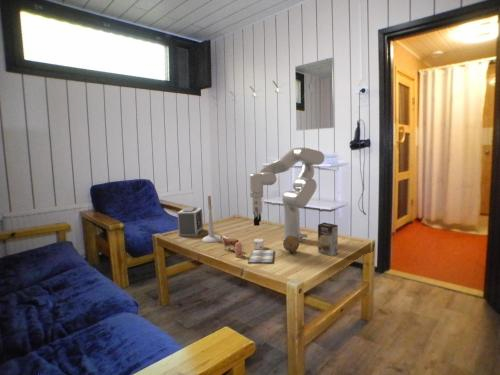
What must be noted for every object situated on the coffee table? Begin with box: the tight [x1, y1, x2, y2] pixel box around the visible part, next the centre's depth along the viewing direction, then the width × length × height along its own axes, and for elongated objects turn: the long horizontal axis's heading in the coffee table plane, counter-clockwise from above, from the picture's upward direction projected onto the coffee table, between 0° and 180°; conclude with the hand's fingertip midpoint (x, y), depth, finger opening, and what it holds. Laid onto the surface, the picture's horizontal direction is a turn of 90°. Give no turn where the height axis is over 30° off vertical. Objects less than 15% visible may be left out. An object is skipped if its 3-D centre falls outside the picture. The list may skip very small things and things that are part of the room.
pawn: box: [234, 241, 244, 258], centre depth 170 cm, size 5×5×8 cm
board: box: [247, 249, 275, 264], centre depth 167 cm, size 13×18×1 cm
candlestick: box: [201, 195, 222, 244], centre depth 201 cm, size 13×13×30 cm
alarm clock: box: [176, 207, 204, 237], centre depth 222 cm, size 18×13×18 cm
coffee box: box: [317, 222, 339, 257], centre depth 168 cm, size 9×6×16 cm
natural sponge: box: [282, 235, 300, 254], centre depth 171 cm, size 9×9×10 cm
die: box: [253, 238, 264, 250], centre depth 182 cm, size 5×5×5 cm
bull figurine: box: [220, 234, 240, 253], centre depth 181 cm, size 4×13×8 cm, turn 51°
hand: (257, 223), depth 180 cm, fingers open, 9 cm apart
